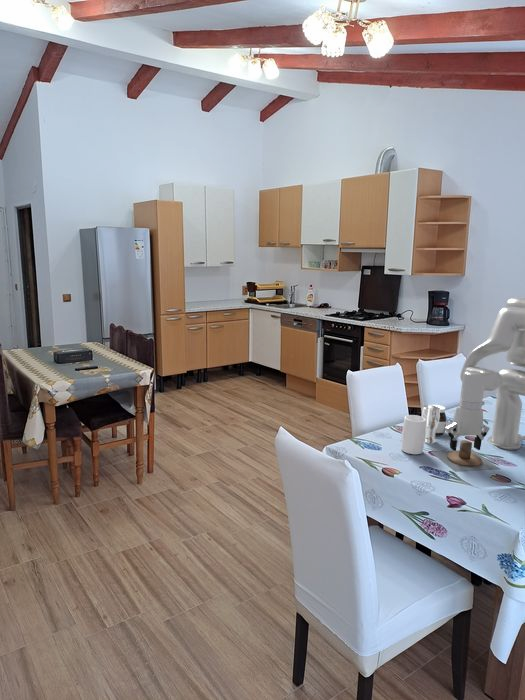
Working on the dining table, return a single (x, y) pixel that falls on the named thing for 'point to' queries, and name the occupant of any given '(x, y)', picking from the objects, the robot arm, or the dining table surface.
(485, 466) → the mat
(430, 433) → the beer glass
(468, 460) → the lid
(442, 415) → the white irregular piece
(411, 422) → the cup
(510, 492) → the dining table surface
